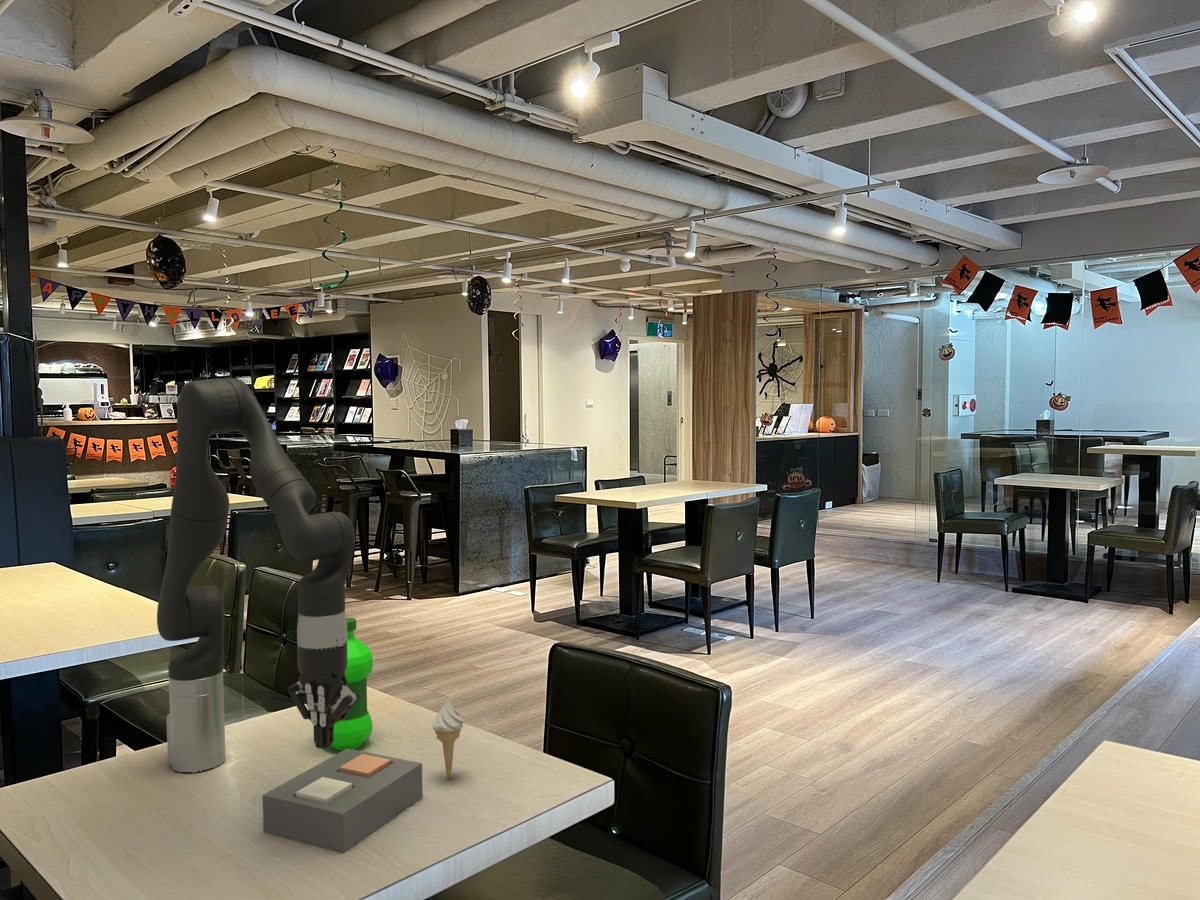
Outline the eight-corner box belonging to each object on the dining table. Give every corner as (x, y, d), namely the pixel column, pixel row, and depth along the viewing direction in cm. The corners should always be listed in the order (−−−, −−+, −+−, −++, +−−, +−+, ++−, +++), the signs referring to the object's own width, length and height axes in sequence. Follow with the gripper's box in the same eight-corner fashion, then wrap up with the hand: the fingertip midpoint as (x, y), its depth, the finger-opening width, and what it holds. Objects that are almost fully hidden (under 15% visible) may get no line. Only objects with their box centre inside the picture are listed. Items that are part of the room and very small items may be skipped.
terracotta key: (339, 784, 147) (339, 767, 146) (362, 770, 152) (362, 753, 152) (368, 790, 144) (368, 773, 144) (391, 776, 150) (390, 759, 149)
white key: (296, 810, 138) (296, 791, 137) (322, 794, 143) (322, 776, 143) (326, 817, 135) (326, 798, 135) (352, 801, 141) (351, 783, 140)
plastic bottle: (312, 743, 173) (309, 619, 172) (363, 731, 180) (361, 611, 178) (330, 760, 165) (327, 630, 164) (383, 747, 172) (380, 621, 170)
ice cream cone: (470, 775, 158) (469, 694, 157) (452, 788, 153) (451, 704, 152) (444, 770, 161) (443, 690, 160) (426, 782, 156) (425, 699, 155)
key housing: (263, 831, 138) (262, 794, 138) (348, 781, 156) (347, 748, 156) (343, 852, 131) (343, 814, 131) (422, 797, 150) (422, 763, 149)
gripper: (272, 640, 137) (274, 748, 138) (339, 651, 131) (341, 763, 133) (306, 628, 144) (308, 731, 145) (371, 638, 138) (372, 745, 140)
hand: (324, 746), depth 139 cm, fingers closed
